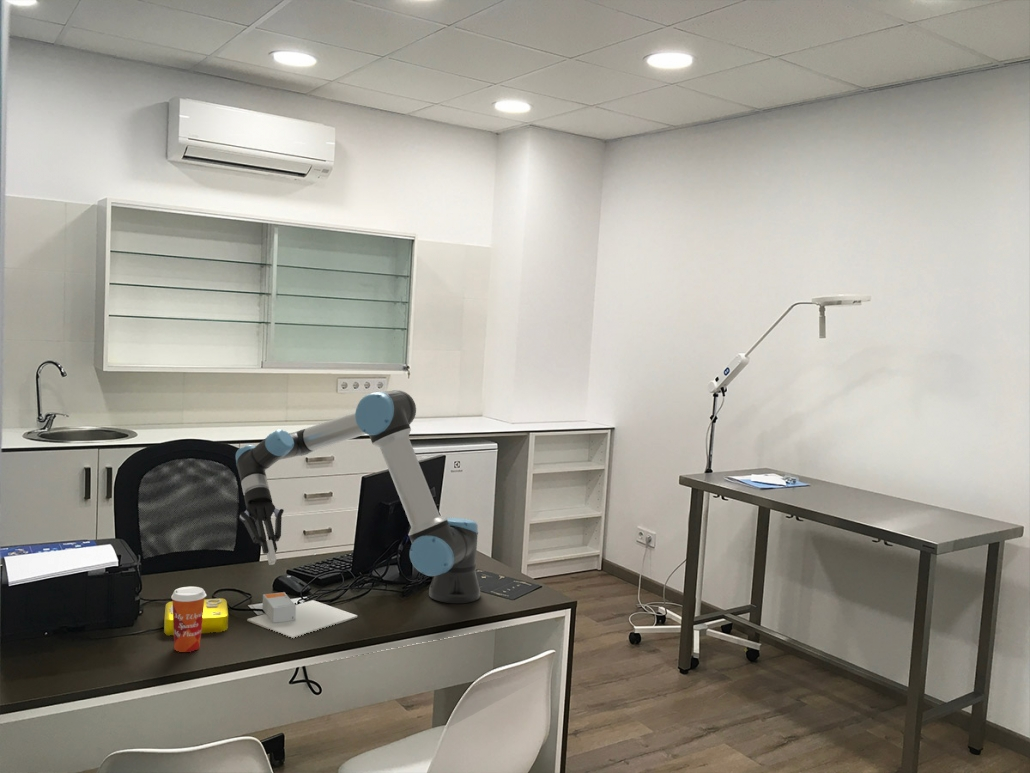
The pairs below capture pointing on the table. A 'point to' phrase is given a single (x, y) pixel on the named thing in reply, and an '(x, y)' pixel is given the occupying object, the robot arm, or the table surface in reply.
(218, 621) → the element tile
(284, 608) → the skincare box
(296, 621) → the mat
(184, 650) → the paper cup
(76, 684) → the table surface
